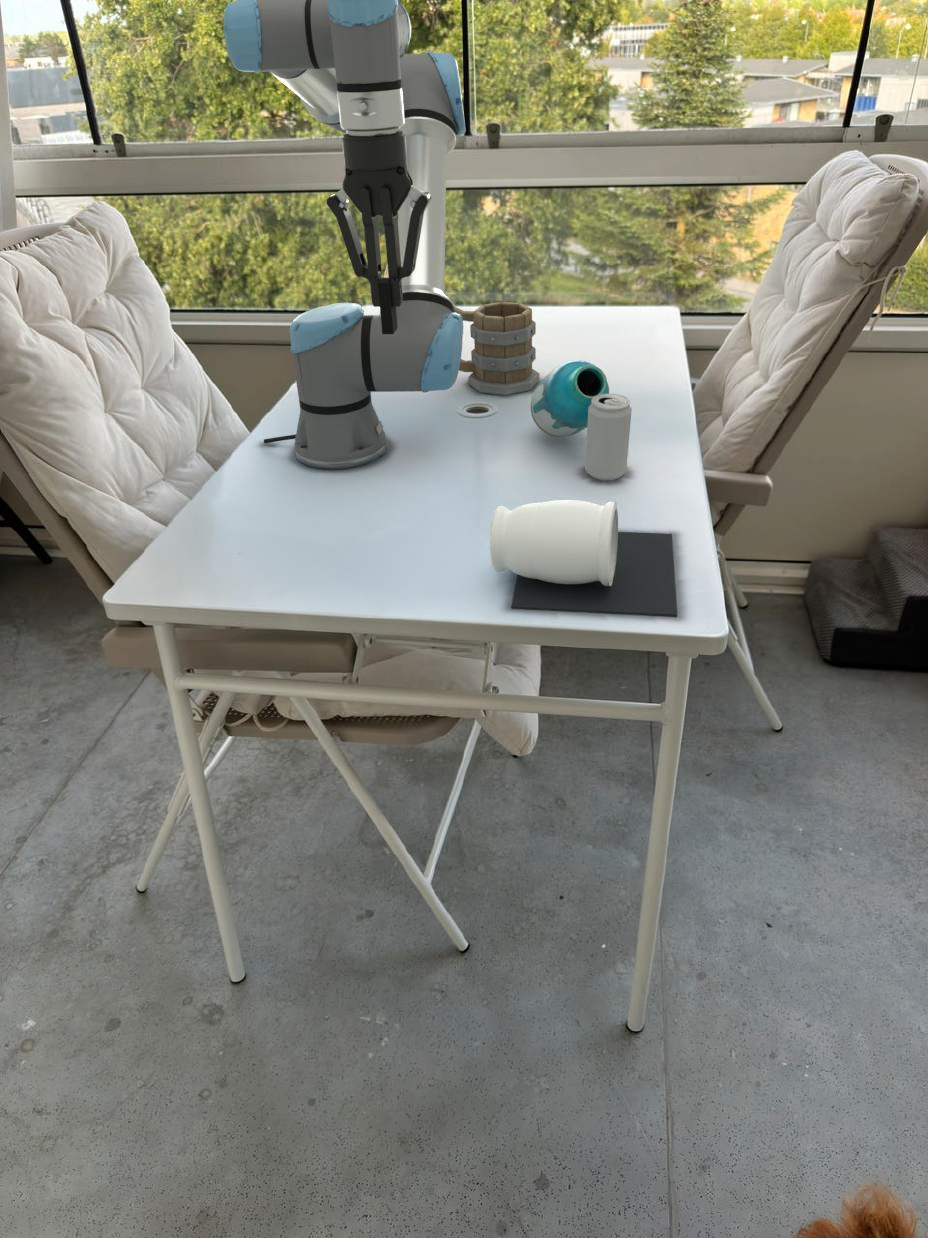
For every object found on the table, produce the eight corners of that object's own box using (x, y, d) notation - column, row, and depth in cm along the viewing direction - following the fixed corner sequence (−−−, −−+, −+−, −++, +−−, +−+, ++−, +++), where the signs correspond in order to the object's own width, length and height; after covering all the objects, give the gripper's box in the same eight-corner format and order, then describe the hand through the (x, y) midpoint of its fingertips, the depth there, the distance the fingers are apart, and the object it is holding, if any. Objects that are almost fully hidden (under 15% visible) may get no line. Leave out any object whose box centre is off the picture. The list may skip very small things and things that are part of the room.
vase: (584, 383, 160) (625, 350, 141) (582, 445, 160) (623, 419, 141) (524, 378, 158) (557, 343, 139) (522, 440, 158) (556, 414, 139)
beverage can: (599, 459, 149) (603, 388, 141) (634, 470, 145) (640, 398, 138) (576, 475, 145) (580, 402, 138) (612, 486, 141) (617, 412, 134)
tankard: (545, 374, 183) (545, 296, 174) (524, 397, 173) (524, 316, 165) (450, 366, 189) (446, 290, 181) (426, 387, 180) (420, 308, 171)
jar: (495, 595, 121) (612, 602, 117) (482, 550, 112) (607, 555, 108) (508, 529, 126) (620, 533, 122) (496, 480, 117) (616, 483, 114)
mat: (511, 608, 115) (511, 606, 115) (526, 530, 131) (526, 528, 131) (676, 616, 112) (677, 614, 112) (671, 535, 128) (671, 533, 128)
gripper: (310, 136, 108) (334, 339, 121) (421, 133, 106) (433, 340, 119) (328, 127, 114) (349, 322, 127) (433, 125, 112) (443, 322, 125)
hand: (390, 330), depth 123 cm, fingers closed
